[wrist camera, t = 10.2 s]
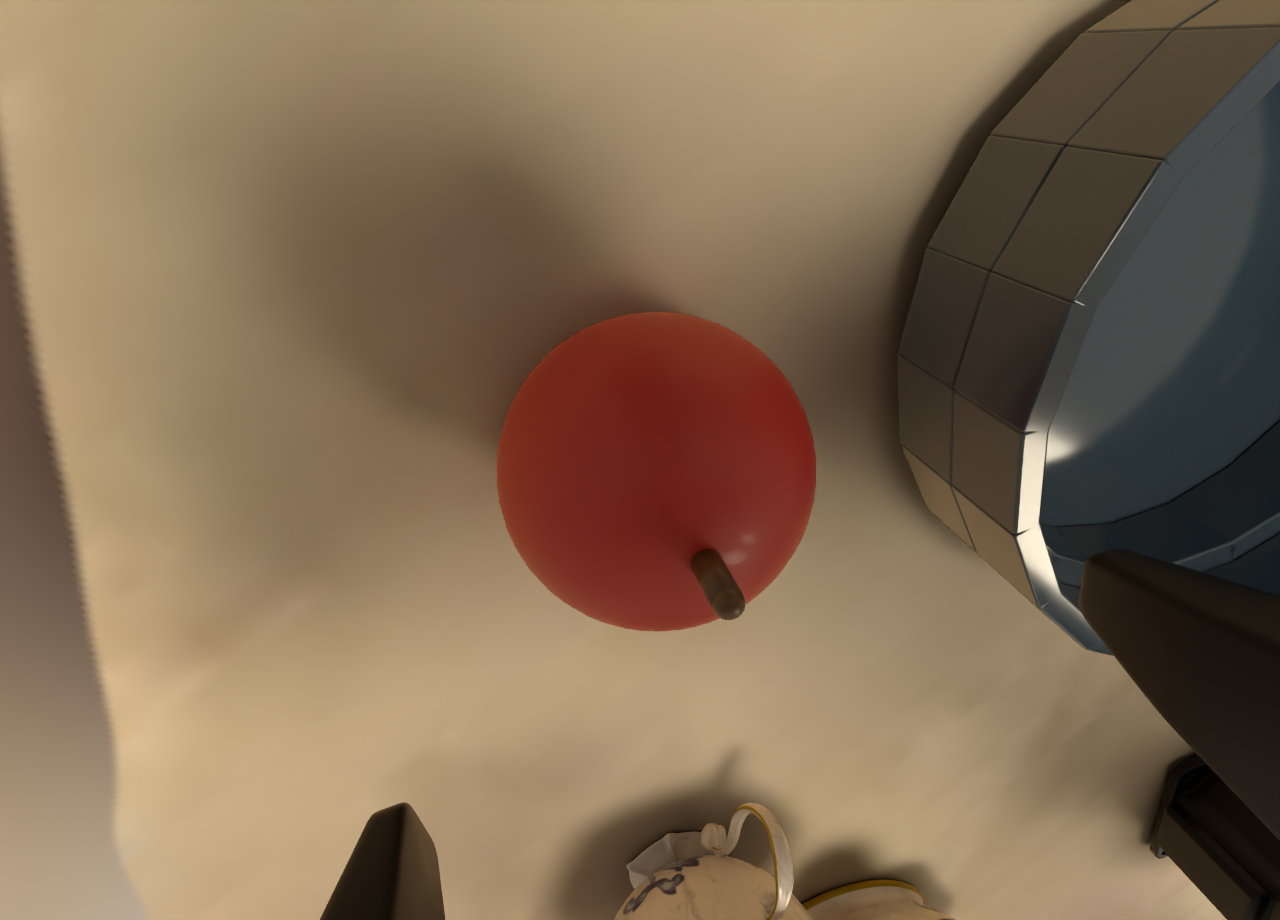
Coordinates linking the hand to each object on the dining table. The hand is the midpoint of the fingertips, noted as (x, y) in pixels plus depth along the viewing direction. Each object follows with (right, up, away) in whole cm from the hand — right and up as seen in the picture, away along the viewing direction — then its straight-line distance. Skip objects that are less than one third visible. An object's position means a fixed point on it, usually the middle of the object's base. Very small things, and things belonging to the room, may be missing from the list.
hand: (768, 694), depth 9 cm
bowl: (+11, +7, +10) cm, 17 cm away
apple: (-2, +4, +8) cm, 9 cm away
